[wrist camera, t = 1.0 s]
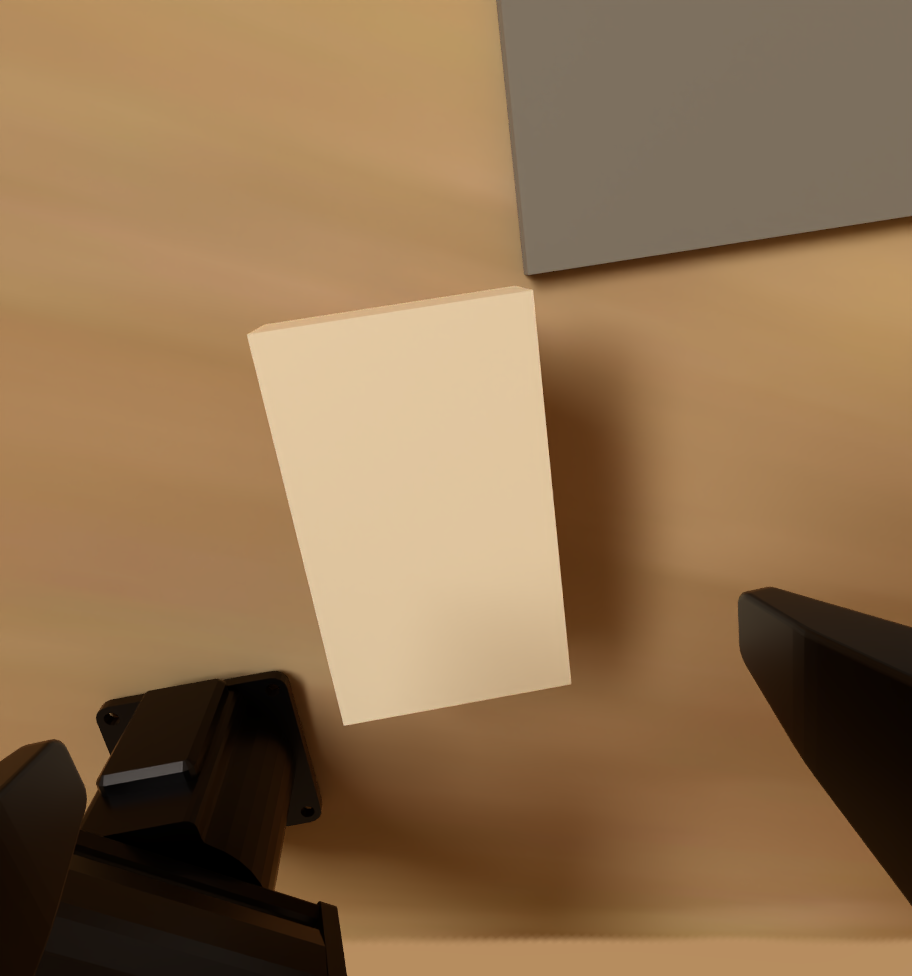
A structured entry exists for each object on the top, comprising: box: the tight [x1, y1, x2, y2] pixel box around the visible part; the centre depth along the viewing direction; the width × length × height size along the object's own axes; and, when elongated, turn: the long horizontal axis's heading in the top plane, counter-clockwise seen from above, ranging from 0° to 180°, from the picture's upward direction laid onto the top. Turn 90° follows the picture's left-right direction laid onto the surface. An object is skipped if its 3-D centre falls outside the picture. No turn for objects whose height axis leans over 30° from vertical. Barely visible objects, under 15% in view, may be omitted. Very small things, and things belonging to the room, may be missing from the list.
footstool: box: [247, 286, 571, 726], centre depth 18 cm, size 10×6×6 cm, turn 8°
